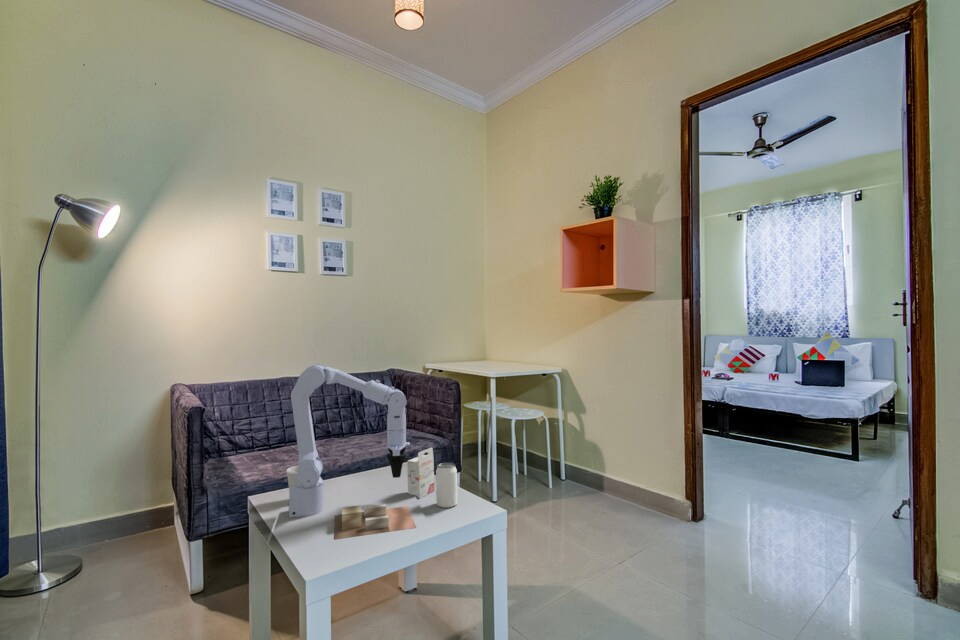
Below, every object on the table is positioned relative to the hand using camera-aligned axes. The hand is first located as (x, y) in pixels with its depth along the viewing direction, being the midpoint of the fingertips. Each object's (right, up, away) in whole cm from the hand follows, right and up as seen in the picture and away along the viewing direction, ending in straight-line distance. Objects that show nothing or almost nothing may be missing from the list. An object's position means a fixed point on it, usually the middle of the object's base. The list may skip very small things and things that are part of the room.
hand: (396, 473), depth 138 cm
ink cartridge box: (+6, -10, +9) cm, 15 cm away
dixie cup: (-32, -11, +6) cm, 35 cm away
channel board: (-4, -9, -14) cm, 18 cm away
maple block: (-9, -8, -16) cm, 20 cm away
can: (+16, -10, 0) cm, 18 cm away
